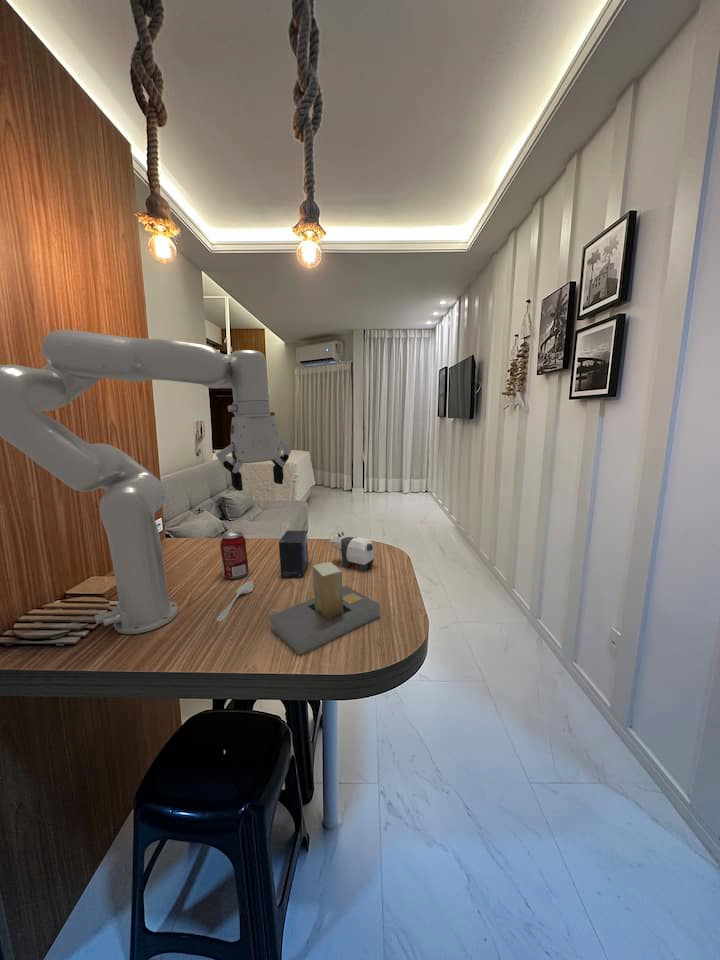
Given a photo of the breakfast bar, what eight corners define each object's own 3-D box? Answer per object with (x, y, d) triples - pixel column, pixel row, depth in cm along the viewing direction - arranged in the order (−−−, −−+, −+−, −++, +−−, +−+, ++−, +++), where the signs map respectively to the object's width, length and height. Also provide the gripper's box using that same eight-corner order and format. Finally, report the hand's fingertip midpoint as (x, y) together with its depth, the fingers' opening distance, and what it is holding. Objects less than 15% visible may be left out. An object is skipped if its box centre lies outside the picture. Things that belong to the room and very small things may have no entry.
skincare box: (314, 617, 83) (311, 564, 81) (332, 611, 85) (329, 560, 83) (325, 631, 78) (322, 575, 76) (345, 625, 80) (342, 570, 77)
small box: (304, 578, 103) (301, 541, 102) (280, 578, 104) (277, 542, 102) (309, 563, 114) (307, 529, 112) (288, 563, 114) (285, 530, 112)
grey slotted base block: (299, 655, 70) (298, 640, 70) (270, 629, 79) (269, 615, 79) (379, 616, 82) (379, 603, 82) (346, 597, 92) (346, 585, 91)
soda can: (249, 577, 105) (245, 536, 103) (224, 582, 103) (219, 540, 101) (247, 568, 111) (243, 529, 109) (223, 573, 109) (218, 533, 107)
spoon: (258, 586, 100) (257, 580, 100) (220, 631, 80) (220, 623, 80) (243, 586, 101) (242, 580, 101) (202, 630, 81) (201, 623, 80)
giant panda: (377, 566, 109) (376, 535, 107) (367, 573, 104) (366, 540, 103) (337, 557, 117) (335, 528, 115) (326, 563, 113) (324, 533, 111)
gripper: (218, 410, 75) (227, 495, 78) (295, 408, 85) (300, 483, 88) (206, 411, 80) (215, 490, 83) (280, 409, 91) (285, 479, 94)
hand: (259, 486), depth 86 cm, fingers open, 9 cm apart
